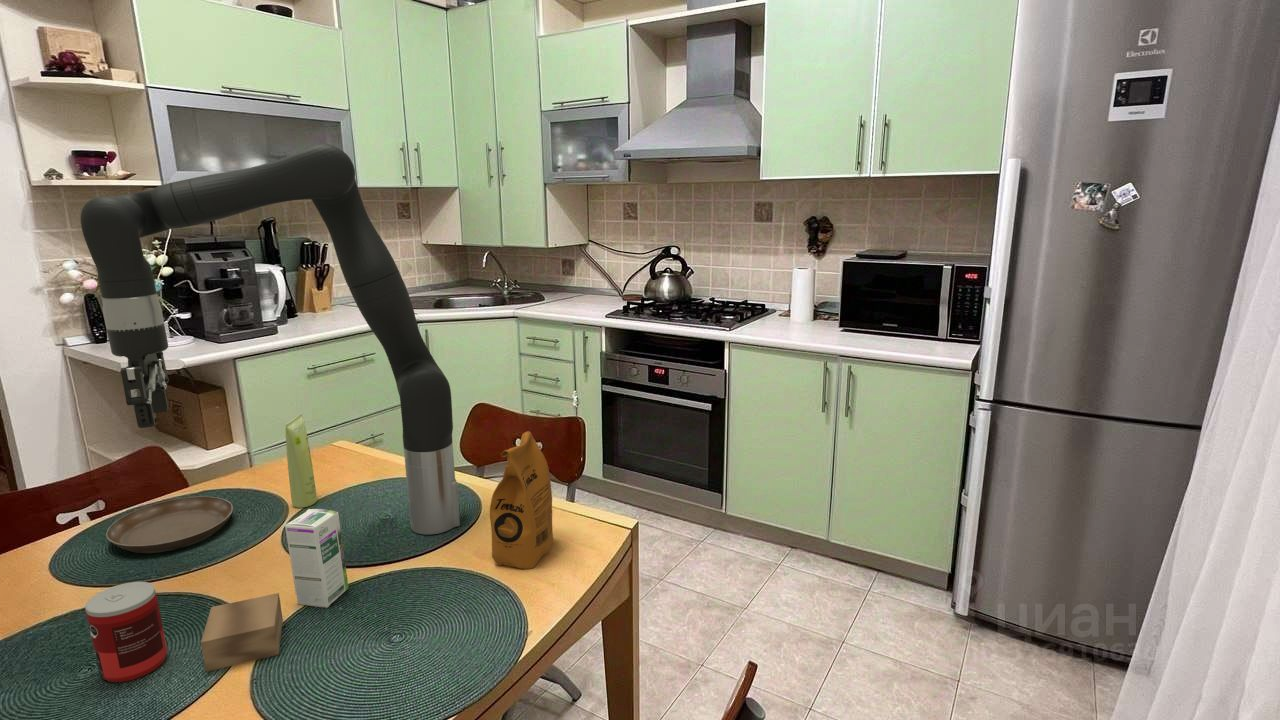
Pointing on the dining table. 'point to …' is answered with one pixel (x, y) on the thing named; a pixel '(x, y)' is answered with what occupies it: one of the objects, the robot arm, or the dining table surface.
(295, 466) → the tube
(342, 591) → the syrup box
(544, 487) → the coffee package
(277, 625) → the base block
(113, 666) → the canned food
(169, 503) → the plant saucer
